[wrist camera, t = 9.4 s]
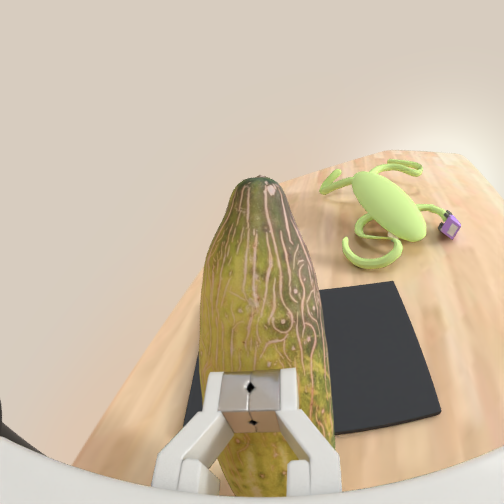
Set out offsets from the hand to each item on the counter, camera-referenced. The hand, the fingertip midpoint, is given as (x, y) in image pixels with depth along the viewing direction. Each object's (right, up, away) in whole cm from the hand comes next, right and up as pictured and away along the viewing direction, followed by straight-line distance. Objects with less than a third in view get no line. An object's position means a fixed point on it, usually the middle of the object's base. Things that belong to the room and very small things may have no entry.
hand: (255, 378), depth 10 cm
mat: (+5, -5, +16) cm, 17 cm away
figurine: (+20, +10, +34) cm, 41 cm away
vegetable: (+2, -13, +3) cm, 13 cm away
